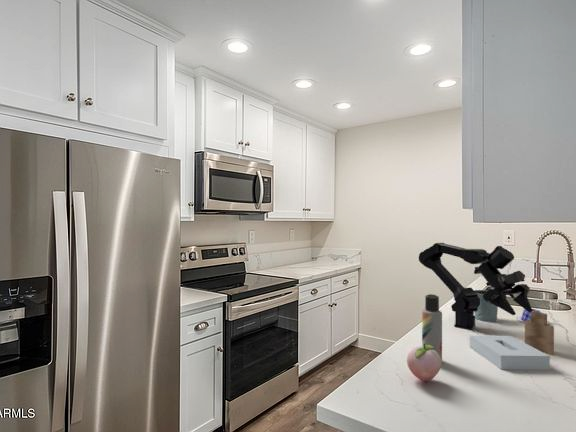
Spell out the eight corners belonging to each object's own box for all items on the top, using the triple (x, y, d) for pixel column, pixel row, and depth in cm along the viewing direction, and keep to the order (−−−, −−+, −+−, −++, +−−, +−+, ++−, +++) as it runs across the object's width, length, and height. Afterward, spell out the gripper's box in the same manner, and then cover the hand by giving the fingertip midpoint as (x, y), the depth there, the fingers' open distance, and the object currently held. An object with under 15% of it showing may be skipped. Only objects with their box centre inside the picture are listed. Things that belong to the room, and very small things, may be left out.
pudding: (555, 327, 145) (555, 314, 145) (522, 325, 148) (522, 312, 148) (540, 319, 157) (540, 307, 157) (511, 317, 160) (510, 305, 160)
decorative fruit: (414, 371, 101) (414, 336, 101) (444, 379, 96) (444, 342, 96) (401, 382, 93) (401, 344, 94) (433, 392, 88) (433, 352, 88)
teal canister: (501, 319, 155) (501, 292, 156) (495, 324, 148) (495, 295, 148) (476, 315, 162) (476, 288, 162) (469, 319, 155) (469, 292, 155)
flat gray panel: (469, 347, 120) (469, 335, 120) (510, 347, 120) (510, 335, 120) (500, 369, 102) (500, 355, 102) (549, 369, 102) (549, 355, 102)
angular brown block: (524, 346, 121) (524, 310, 121) (528, 346, 122) (528, 309, 122) (550, 354, 114) (550, 316, 114) (553, 354, 115) (553, 315, 115)
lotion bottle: (441, 358, 110) (441, 294, 111) (442, 365, 105) (442, 297, 105) (421, 355, 112) (421, 292, 113) (422, 362, 107) (422, 296, 107)
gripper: (491, 264, 124) (522, 303, 114) (524, 262, 132) (557, 298, 121) (471, 283, 131) (499, 320, 121) (504, 279, 139) (533, 315, 129)
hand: (523, 313), depth 123 cm, fingers open, 9 cm apart
